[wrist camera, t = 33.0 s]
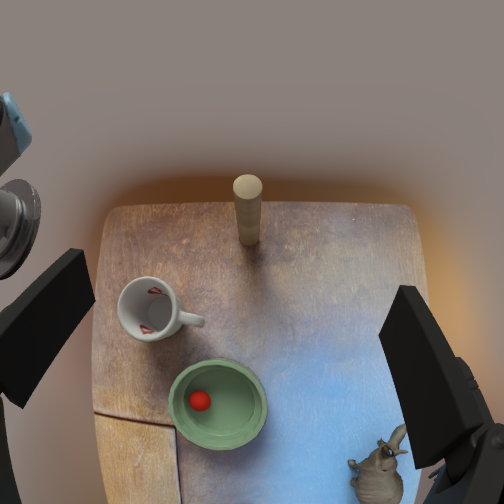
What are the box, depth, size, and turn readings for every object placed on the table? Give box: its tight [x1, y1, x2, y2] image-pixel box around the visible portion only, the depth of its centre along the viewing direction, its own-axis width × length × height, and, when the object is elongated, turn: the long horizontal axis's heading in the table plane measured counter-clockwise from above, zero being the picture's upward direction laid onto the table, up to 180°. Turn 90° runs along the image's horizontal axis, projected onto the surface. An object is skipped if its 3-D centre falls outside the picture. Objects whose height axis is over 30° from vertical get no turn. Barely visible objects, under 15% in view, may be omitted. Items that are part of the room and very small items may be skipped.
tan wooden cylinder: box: [233, 175, 263, 246], centre depth 36 cm, size 3×3×15 cm
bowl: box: [168, 357, 268, 450], centre depth 34 cm, size 12×12×6 cm
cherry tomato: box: [189, 390, 211, 411], centre depth 34 cm, size 3×3×3 cm
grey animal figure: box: [348, 424, 408, 504], centre depth 28 cm, size 8×14×15 cm
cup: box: [117, 277, 205, 342], centre depth 36 cm, size 11×8×8 cm
